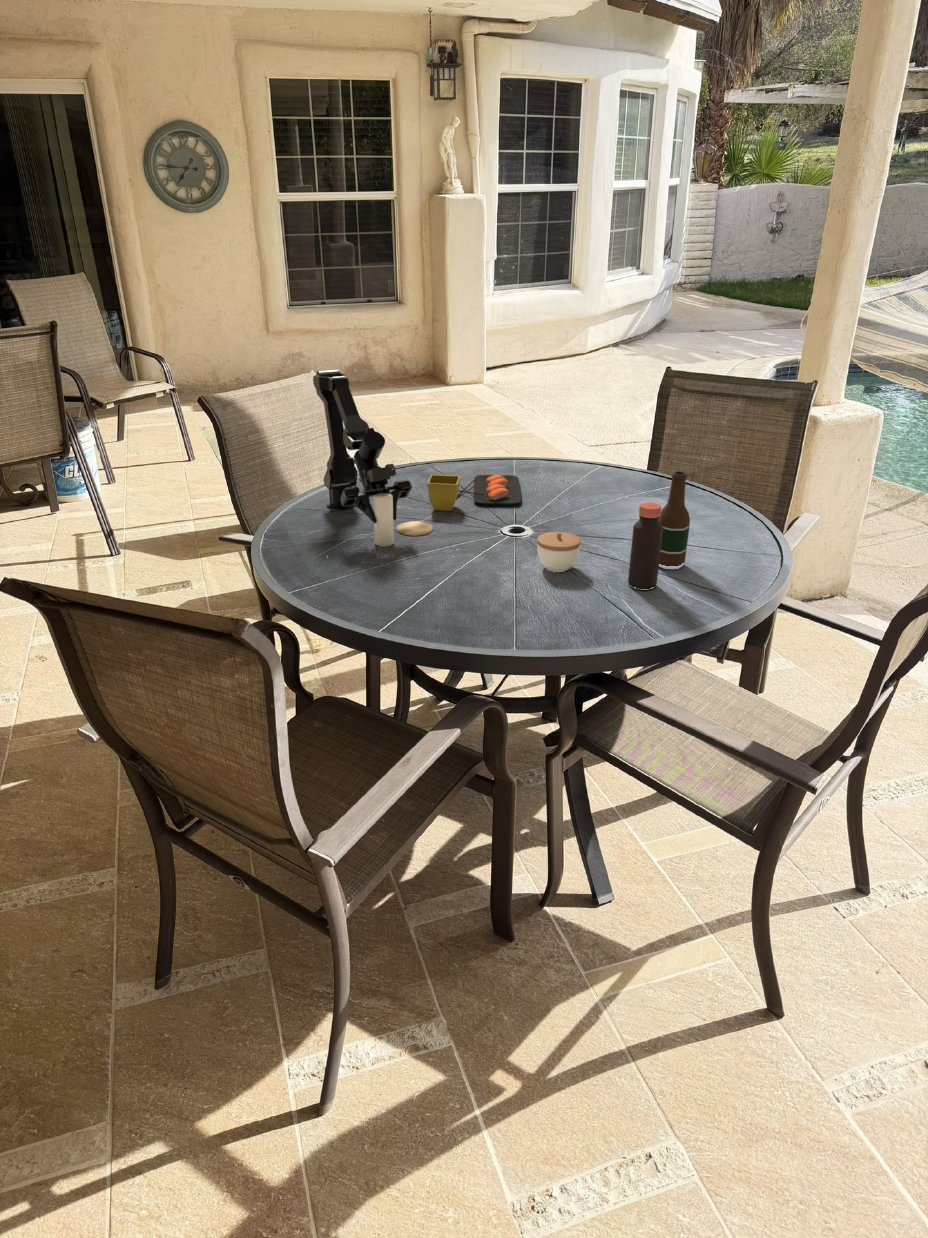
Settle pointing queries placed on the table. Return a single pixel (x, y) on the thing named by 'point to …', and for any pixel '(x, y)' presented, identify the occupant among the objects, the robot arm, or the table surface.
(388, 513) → the cream glossy rounded body
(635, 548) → the vinegar
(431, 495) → the flower pot
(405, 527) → the cork coaster
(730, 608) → the table surface
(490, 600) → the table surface
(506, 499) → the sushi plate
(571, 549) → the lidded jar
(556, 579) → the table surface
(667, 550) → the beer bottle
